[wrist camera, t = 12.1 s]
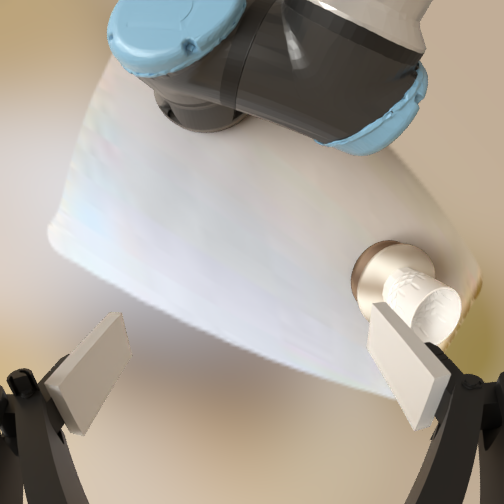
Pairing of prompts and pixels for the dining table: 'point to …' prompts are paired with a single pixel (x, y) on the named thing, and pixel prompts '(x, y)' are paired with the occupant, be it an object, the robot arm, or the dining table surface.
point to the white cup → (423, 304)
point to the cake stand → (384, 270)
